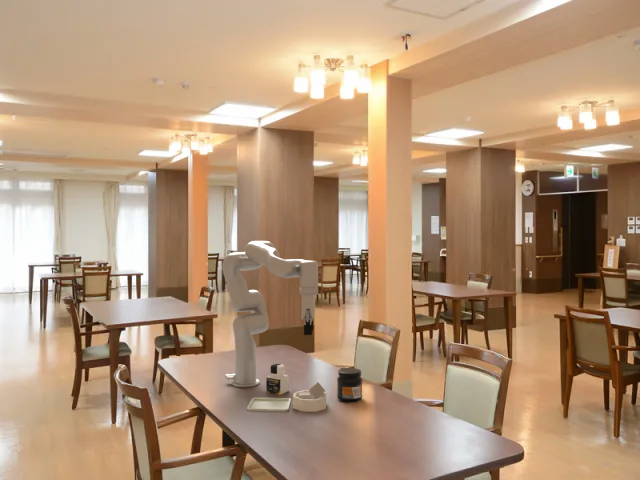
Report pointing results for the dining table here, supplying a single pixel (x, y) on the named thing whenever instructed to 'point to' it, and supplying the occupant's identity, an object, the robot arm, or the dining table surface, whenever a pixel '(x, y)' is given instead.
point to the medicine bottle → (277, 380)
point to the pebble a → (305, 395)
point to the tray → (269, 404)
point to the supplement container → (349, 385)
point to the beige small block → (317, 390)
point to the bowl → (309, 402)
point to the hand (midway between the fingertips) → (308, 332)
